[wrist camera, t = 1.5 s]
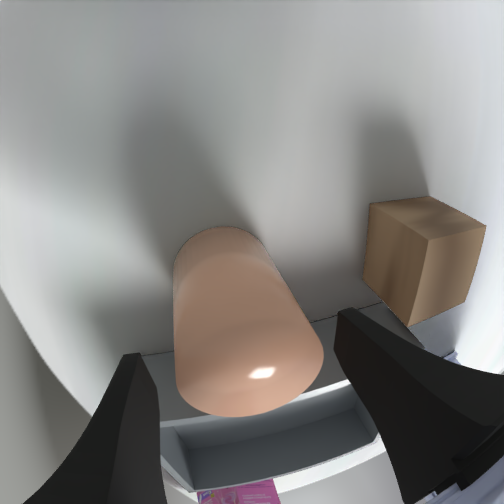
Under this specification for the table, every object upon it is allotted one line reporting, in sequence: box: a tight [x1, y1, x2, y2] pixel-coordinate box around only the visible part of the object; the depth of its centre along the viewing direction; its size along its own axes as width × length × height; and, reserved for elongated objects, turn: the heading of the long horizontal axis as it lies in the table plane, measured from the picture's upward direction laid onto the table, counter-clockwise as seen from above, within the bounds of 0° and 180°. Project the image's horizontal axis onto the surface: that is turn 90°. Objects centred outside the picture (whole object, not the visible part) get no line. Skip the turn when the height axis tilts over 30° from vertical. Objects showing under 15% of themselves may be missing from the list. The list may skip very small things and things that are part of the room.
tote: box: [142, 302, 424, 493], centre depth 19 cm, size 17×13×5 cm
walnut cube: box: [362, 196, 486, 327], centre depth 15 cm, size 5×5×5 cm
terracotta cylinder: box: [173, 227, 324, 417], centre depth 12 cm, size 5×5×7 cm
